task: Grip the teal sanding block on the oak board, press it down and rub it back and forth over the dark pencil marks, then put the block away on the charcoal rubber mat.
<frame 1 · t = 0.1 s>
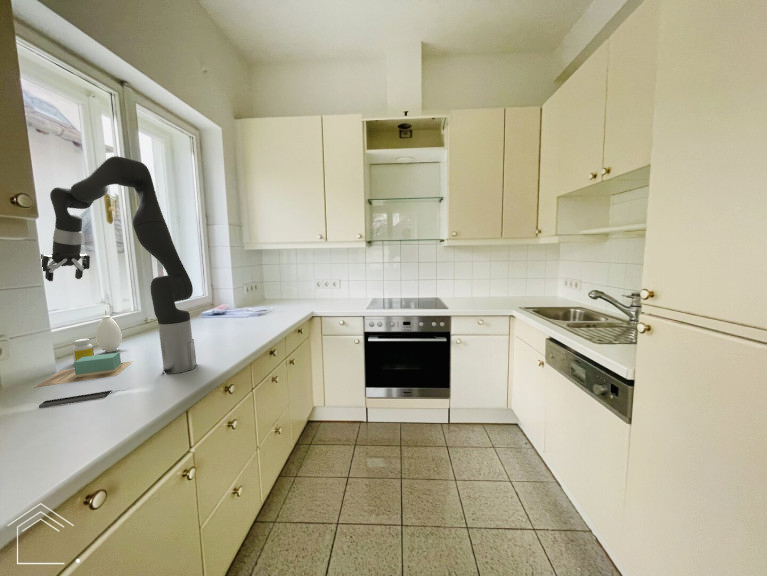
hand: (64, 279, 120), 31 cm above the counter, tool tilted 20°, fingers open, 8 cm apart
white vase: (111, 352, 128), on the counter
board: (88, 377, 101), on the counter
supplement bottle: (85, 365, 112), on the counter
sanding block: (99, 371, 102), point 1 cm above the counter, touching board
rubber mat: (82, 394, 88), on the counter
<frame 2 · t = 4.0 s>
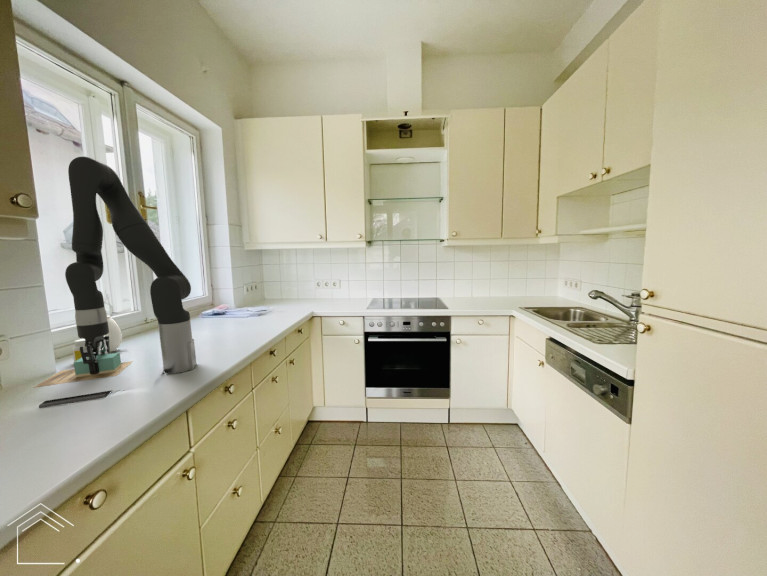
hand: (99, 370, 102), 2 cm above the counter, tool pointing down, fingers closed on sanding block, 5 cm apart
sanding block: (99, 371, 102), point 1 cm above the counter, touching board, gripper
everything else where it was.
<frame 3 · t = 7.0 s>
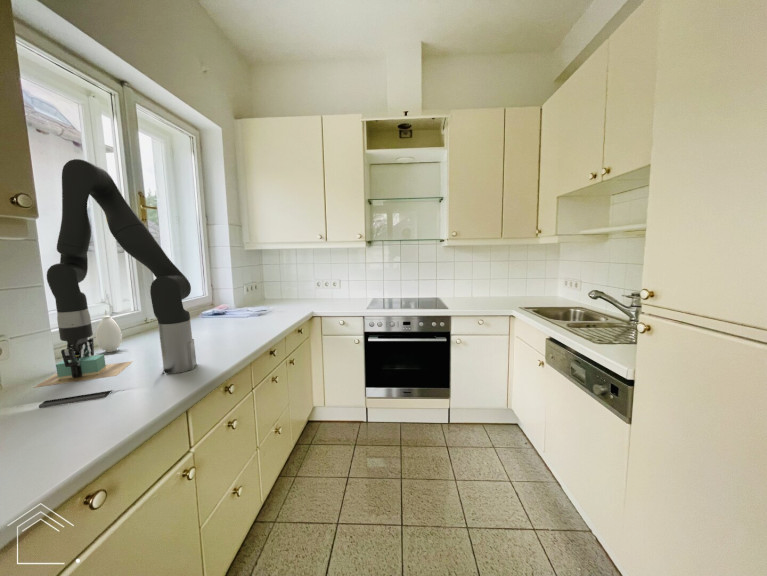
hand: (82, 373, 100), 2 cm above the counter, tool pointing down, fingers closed on sanding block, 5 cm apart
sanding block: (83, 373, 100), point 2 cm above the counter, touching gripper
everything else where it was.
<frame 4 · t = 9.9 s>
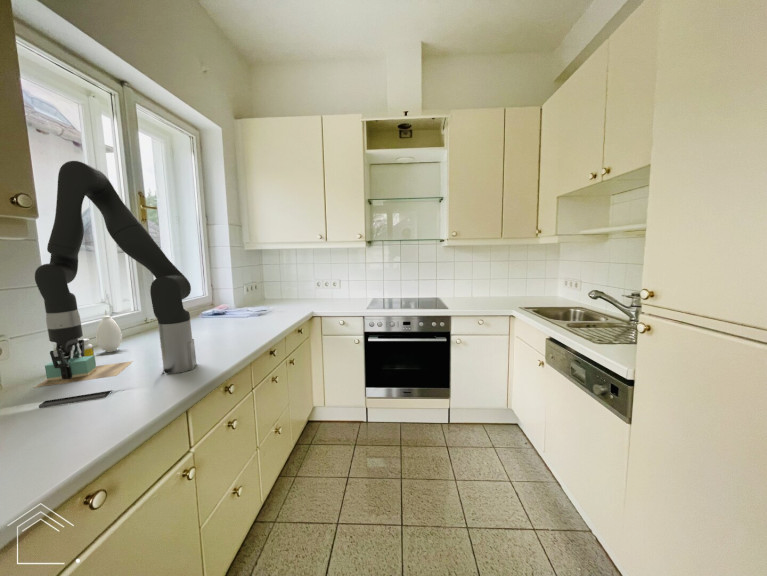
hand: (72, 374, 99), 2 cm above the counter, tool pointing down, fingers closed on sanding block, 5 cm apart
sanding block: (73, 374, 99), point 2 cm above the counter, touching gripper
everything else where it was.
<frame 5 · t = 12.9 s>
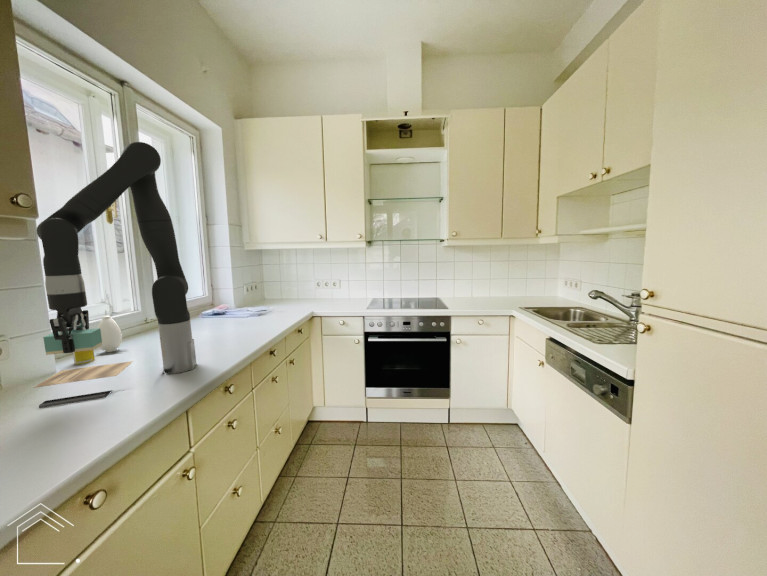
hand: (75, 349, 87), 14 cm above the counter, tool pointing down, fingers closed on sanding block, 5 cm apart
sanding block: (75, 349, 87), point 14 cm above the counter, touching gripper
everything else where it was.
when the fingers open (2 cm above the counter, at t = 15.8 s): sanding block drops 1 cm, resting on rubber mat.
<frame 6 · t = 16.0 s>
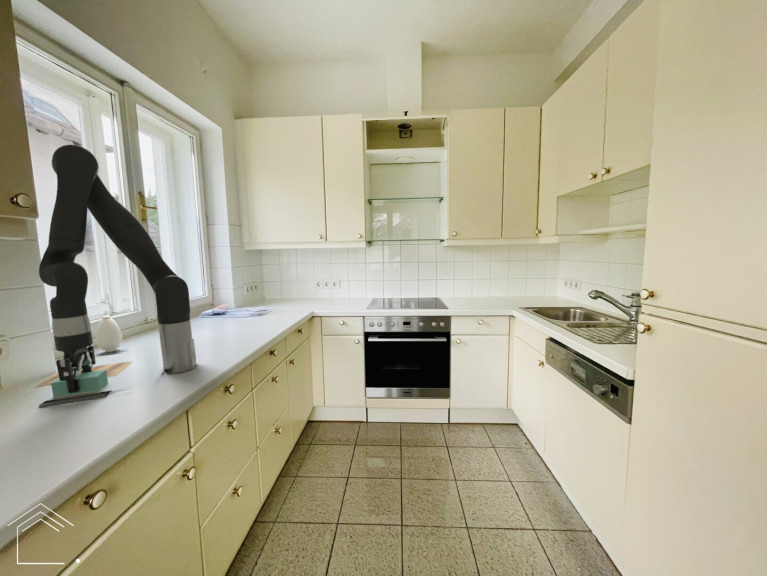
hand: (81, 386, 88), 3 cm above the counter, tool pointing down, fingers open, 7 cm apart
sanding block: (82, 392, 88), point 1 cm above the counter, touching rubber mat
everything else where it was.
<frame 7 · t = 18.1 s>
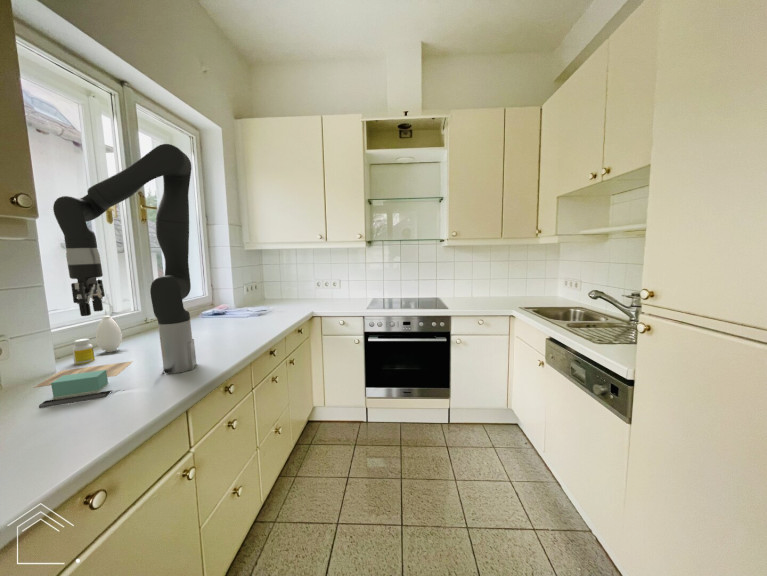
hand: (92, 313, 97), 22 cm above the counter, tool pointing down, fingers open, 8 cm apart
nothing on the counter moved.
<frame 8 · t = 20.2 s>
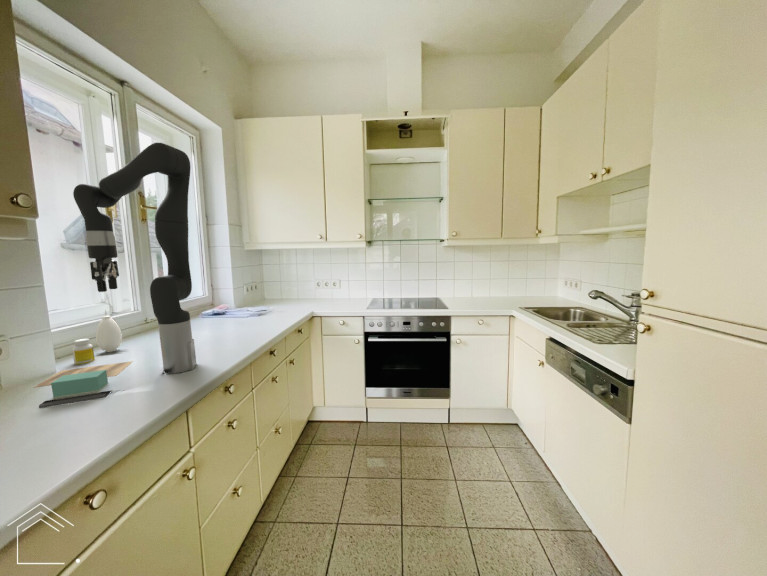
hand: (108, 290, 108), 28 cm above the counter, tool pointing down, fingers open, 8 cm apart
nothing on the counter moved.
at the end: sanding block inside the target area on the rubber mat (0.0 cm from its centre), point 0.8 cm above the rubber mat's base; sanding block tilted 0°; the gripper is holding nothing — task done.
